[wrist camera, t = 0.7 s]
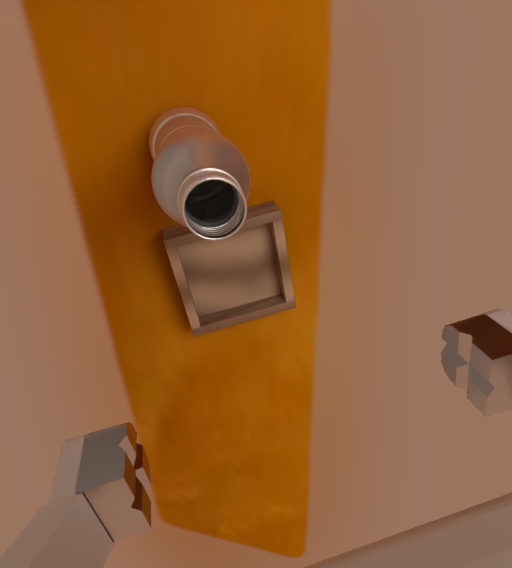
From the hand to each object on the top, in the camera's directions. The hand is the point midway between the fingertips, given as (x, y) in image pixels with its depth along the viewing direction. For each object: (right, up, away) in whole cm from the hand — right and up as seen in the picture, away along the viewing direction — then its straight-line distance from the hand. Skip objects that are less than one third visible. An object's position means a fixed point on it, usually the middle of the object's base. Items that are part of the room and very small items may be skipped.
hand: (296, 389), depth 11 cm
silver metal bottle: (-8, +16, +29) cm, 35 cm away
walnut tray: (-4, +5, +37) cm, 37 cm away
